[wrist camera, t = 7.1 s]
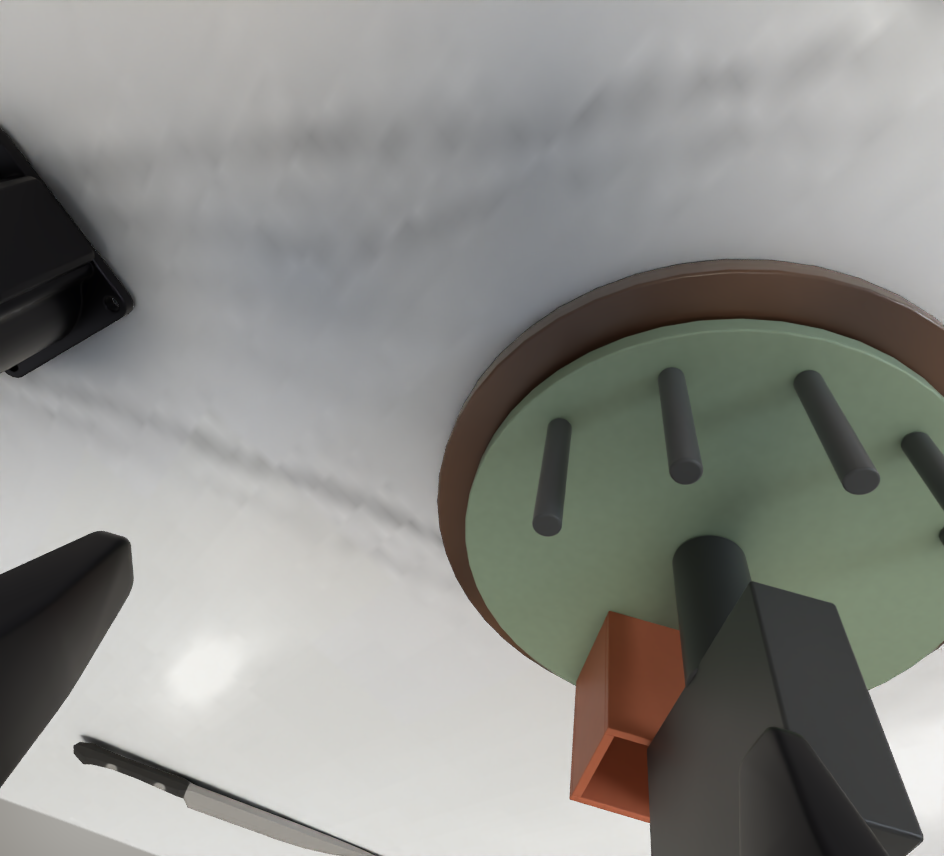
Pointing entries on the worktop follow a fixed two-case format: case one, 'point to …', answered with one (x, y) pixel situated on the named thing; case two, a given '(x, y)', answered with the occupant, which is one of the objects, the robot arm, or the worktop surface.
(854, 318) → the turntable base
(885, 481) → the drying rack
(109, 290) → the robot arm
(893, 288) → the worktop surface
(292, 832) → the chef's knife
